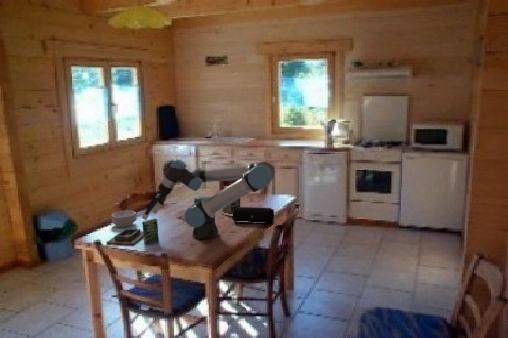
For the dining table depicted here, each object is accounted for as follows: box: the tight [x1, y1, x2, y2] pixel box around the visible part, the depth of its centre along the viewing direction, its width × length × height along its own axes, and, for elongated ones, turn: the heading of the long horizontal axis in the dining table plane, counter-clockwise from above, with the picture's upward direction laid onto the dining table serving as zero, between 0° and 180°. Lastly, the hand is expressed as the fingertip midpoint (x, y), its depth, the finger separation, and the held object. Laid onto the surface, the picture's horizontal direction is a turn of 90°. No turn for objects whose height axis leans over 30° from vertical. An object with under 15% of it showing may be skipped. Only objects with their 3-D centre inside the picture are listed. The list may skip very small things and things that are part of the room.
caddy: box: [106, 228, 144, 247], centre depth 251 cm, size 16×21×4 cm
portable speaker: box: [232, 206, 275, 225], centre depth 279 cm, size 26×10×10 cm, turn 81°
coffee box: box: [141, 218, 160, 245], centre depth 243 cm, size 8×3×13 cm, turn 125°
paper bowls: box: [110, 210, 137, 228], centre depth 277 cm, size 15×15×8 cm
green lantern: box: [222, 198, 241, 214], centre depth 298 cm, size 9×9×15 cm
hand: (149, 215), depth 245 cm, fingers open, 13 cm apart
